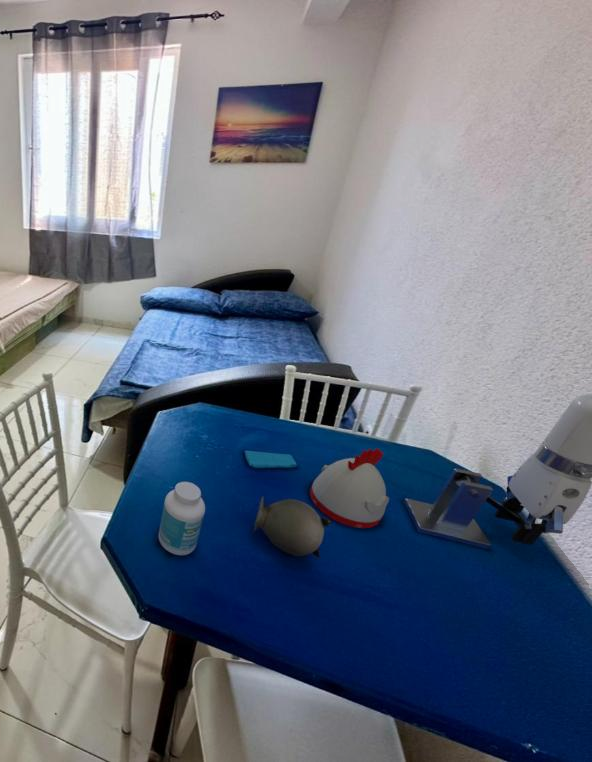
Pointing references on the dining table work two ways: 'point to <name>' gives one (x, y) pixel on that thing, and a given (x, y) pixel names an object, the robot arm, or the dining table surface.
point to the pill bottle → (182, 519)
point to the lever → (497, 504)
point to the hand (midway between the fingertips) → (512, 529)
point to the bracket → (453, 511)
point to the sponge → (269, 460)
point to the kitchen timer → (352, 490)
